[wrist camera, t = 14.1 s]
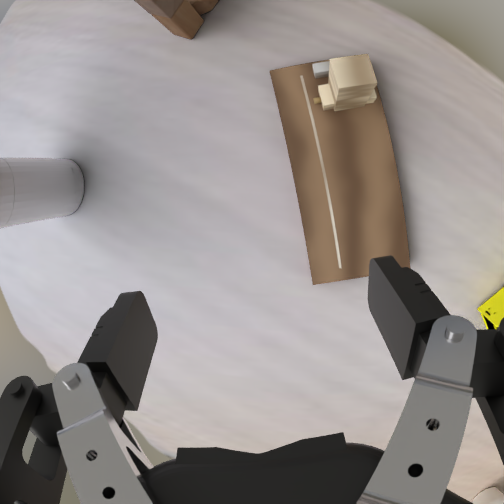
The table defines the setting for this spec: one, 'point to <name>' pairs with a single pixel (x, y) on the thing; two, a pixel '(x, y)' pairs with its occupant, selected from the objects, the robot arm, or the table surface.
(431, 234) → the table surface
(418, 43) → the table surface
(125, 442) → the robot arm
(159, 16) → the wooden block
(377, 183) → the walnut board
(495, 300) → the yellow toy chassis
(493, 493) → the potted plant
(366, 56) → the beige tall blocky piece
